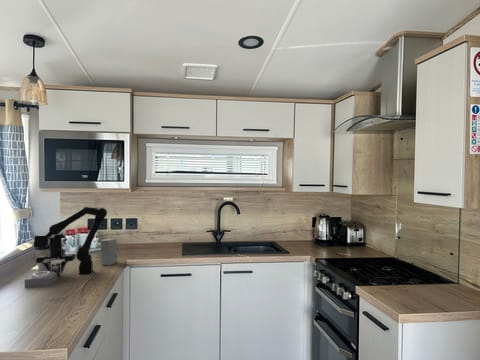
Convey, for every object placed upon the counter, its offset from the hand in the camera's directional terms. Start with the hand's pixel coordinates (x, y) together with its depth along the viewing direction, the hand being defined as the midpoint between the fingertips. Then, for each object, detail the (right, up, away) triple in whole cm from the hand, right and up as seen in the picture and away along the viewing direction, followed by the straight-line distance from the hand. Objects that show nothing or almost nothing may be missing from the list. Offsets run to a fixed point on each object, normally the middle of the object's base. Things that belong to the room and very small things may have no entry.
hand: (56, 273), depth 179 cm
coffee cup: (-15, -2, +13) cm, 20 cm away
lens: (0, -2, 0) cm, 2 cm away
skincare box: (+20, -1, +25) cm, 32 cm away
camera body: (-1, -2, -12) cm, 12 cm away
